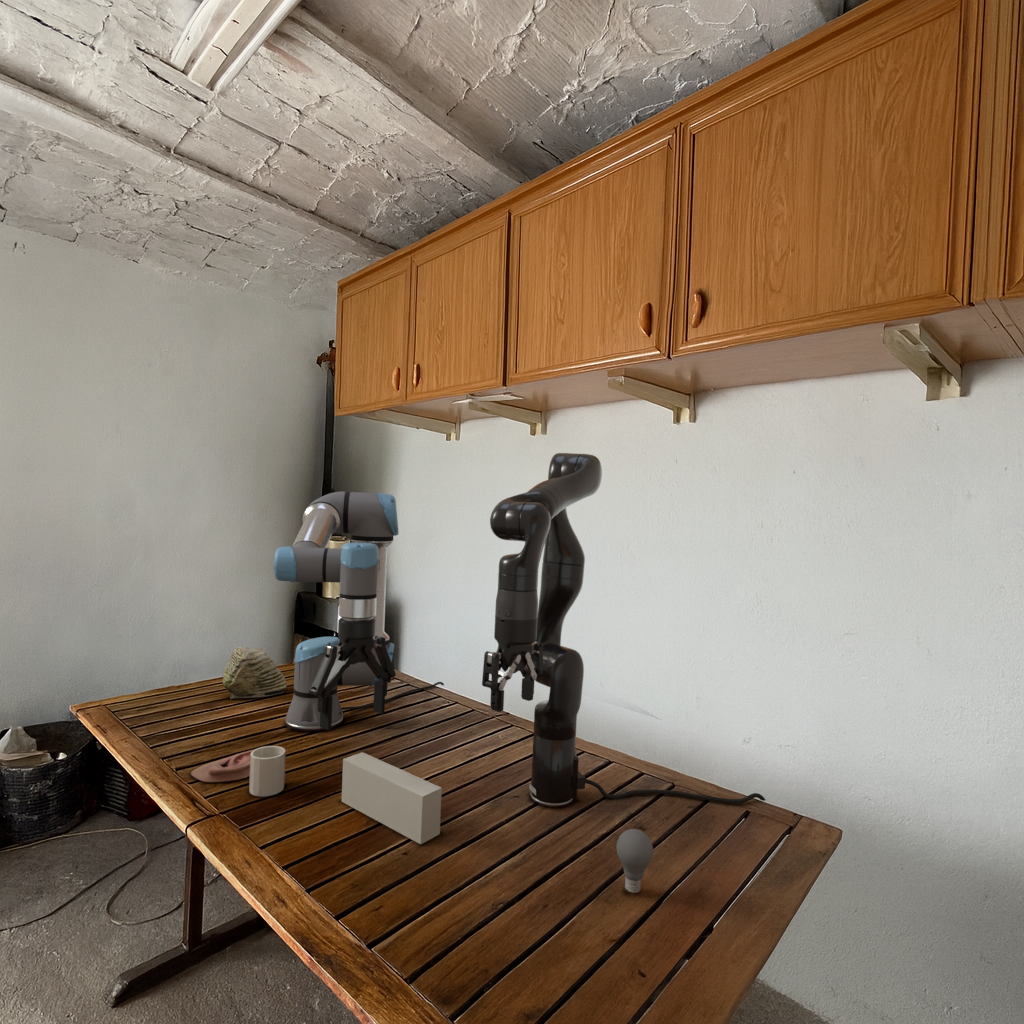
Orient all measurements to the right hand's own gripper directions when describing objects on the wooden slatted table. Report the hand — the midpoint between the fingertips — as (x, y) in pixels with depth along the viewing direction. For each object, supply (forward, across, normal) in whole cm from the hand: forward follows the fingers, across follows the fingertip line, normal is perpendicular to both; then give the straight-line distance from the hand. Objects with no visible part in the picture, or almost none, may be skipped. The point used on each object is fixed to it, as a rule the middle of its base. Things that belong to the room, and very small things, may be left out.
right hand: (512, 705), depth 112 cm
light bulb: (+28, -8, +21) cm, 36 cm away
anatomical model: (+28, +16, -69) cm, 76 cm away
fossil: (+28, -17, -115) cm, 120 cm away
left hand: (+11, +6, -37) cm, 39 cm away
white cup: (+28, +14, -55) cm, 63 cm away
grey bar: (+28, +4, -27) cm, 39 cm away
